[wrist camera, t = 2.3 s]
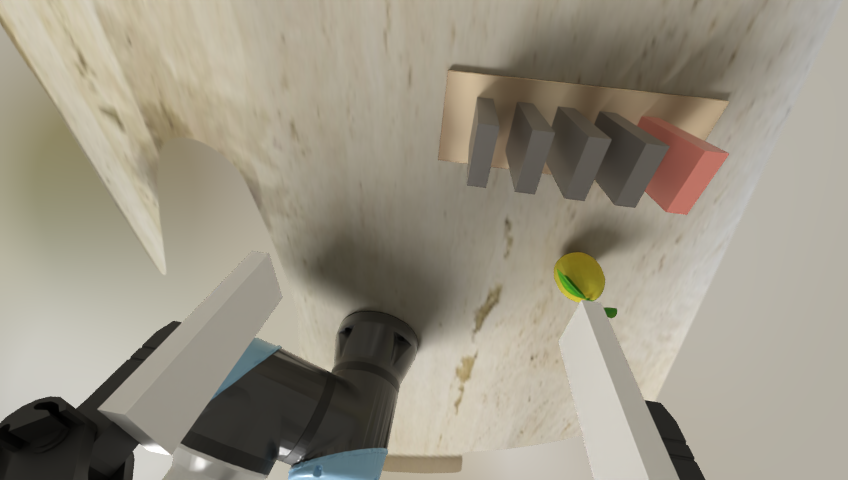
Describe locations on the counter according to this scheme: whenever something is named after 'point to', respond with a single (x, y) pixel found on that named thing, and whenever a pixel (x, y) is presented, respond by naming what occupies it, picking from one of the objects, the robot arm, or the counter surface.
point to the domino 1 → (482, 142)
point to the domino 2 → (528, 147)
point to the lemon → (581, 278)
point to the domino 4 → (627, 159)
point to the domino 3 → (575, 152)
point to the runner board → (547, 97)
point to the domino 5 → (680, 166)
